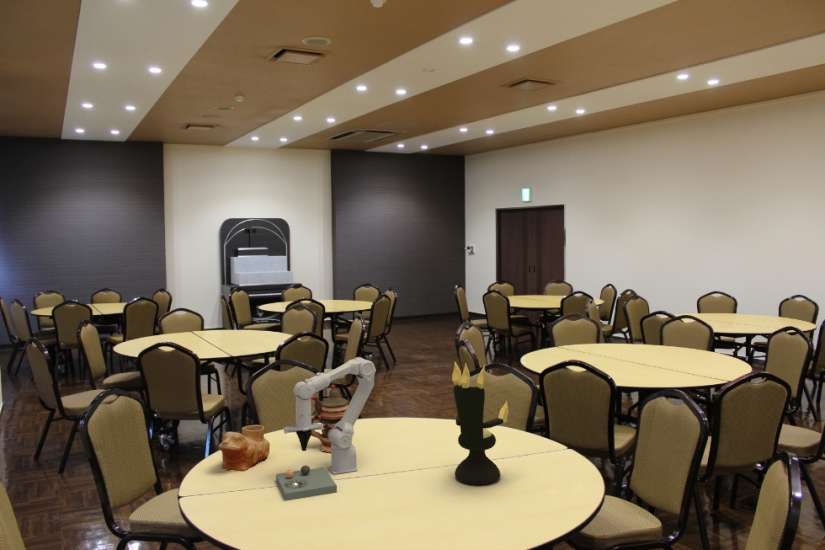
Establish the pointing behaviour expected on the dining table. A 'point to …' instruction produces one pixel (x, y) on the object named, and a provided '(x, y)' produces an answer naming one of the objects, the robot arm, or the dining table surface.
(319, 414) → the beer stein
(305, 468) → the black ball
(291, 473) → the terracotta ball
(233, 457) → the ceramic vessel
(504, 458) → the dining table surface
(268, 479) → the dining table surface
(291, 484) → the steel ball
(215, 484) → the dining table surface
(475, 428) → the candelabra
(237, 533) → the dining table surface
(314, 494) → the plate
